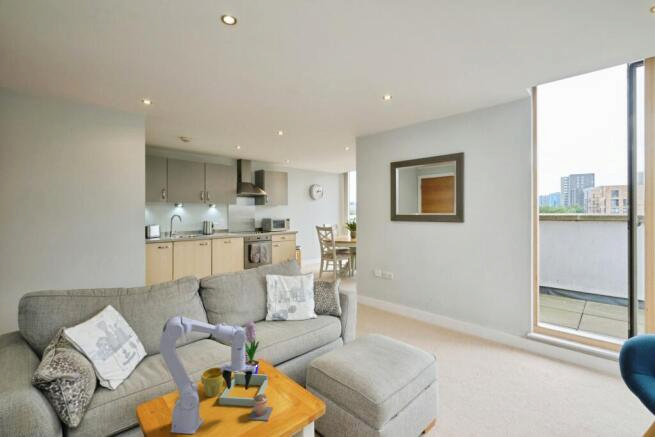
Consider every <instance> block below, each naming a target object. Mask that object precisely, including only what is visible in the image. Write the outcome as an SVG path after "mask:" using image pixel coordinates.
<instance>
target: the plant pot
mask: <svg viewBox="0 0 655 437" xmlns="http://www.w3.org/2000/svg"><path fill="white" fill-rule="evenodd" d="M222 374H223V372H221V367H216V366H215V367H210V368H208V369H207V368H206V370H204V371H203V372H202V373H201V375H200V376H201V377H200V378H201V380H200V381H201V384H202V385H203V390H204V395H205V396H206V397H208V398H215V397H217V396H219V395H220V394H221V391H222V386H223V383H224V381H225V379H224V378H223V377H222Z"/></svg>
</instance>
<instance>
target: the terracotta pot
mask: <svg viewBox="0 0 655 437" xmlns="http://www.w3.org/2000/svg"><path fill="white" fill-rule="evenodd" d="M253 398H254V403H255V406H254V407H255V415H257V416H263V415H265V414H266V413H267V407H268V404H267V403H268V395H267V394H266V393H263V394H259V395H257V394H256V395H254V397H253Z"/></svg>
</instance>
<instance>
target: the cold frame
mask: <svg viewBox="0 0 655 437" xmlns="http://www.w3.org/2000/svg"><path fill="white" fill-rule="evenodd" d="M245 374H246V373H244V372H238V373H233V379H231V387H230V389H228V388H227V387H226V388H225V389H224V391H222V394H221V395H220V396H219V398H218V399H219V400H218V403H219V405H227V406H228V405H229V406H243V407H255V403H254V397H240V396H239V397H238V396H229V394H230V393H231V392H232V390H233V389H234V388H235V387H236V385H245V384H246V383H245ZM268 381H269V376H268V374H265V373H264V374H262V373H261V374H260V373H258V374H252V376H251V379H250V382H249V386H260V388H259V390H258V392H257V394H256V395H259V394H265V391H266V389H267V387H268V383H269V382H268Z"/></svg>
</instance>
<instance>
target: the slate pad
mask: <svg viewBox="0 0 655 437" xmlns="http://www.w3.org/2000/svg"><path fill="white" fill-rule="evenodd" d="M273 408H274V407H273V406H267V413H266V414H265V415H263V416H257V415H255V406H253V409H252V411H251V413H250V415H249V417H248V420H249V421H261V422H262V421H263V422H265V421H266V422H268V421H269V418H270V416H271V413H272V411H273V410H274V409H273Z"/></svg>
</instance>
